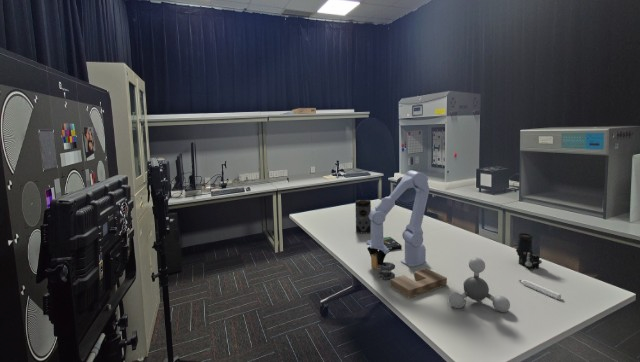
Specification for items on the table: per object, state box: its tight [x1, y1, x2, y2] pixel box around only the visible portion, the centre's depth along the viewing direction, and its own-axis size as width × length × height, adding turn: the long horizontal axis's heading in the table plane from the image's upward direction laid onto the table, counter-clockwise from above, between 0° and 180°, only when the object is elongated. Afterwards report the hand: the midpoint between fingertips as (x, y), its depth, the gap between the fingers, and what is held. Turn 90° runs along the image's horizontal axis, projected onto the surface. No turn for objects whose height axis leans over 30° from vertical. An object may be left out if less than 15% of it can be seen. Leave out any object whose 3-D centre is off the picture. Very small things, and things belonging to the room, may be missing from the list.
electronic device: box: [355, 199, 372, 234], centre depth 204 cm, size 9×6×20 cm, turn 81°
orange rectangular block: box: [370, 253, 381, 270], centre depth 153 cm, size 4×4×6 cm
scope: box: [515, 232, 543, 271], centre depth 149 cm, size 8×14×10 cm
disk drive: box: [383, 236, 403, 251], centre depth 181 cm, size 10×3×15 cm
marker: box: [518, 279, 562, 300], centre depth 127 cm, size 3×2×16 cm
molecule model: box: [447, 257, 511, 313], centre depth 119 cm, size 20×16×20 cm
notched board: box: [390, 268, 448, 299], centre depth 134 cm, size 20×11×3 cm, turn 117°
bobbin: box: [378, 261, 396, 281], centre depth 143 cm, size 7×7×5 cm
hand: (377, 263), depth 153 cm, fingers open, 4 cm apart
